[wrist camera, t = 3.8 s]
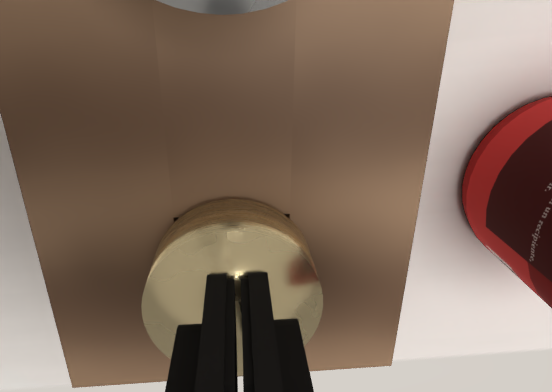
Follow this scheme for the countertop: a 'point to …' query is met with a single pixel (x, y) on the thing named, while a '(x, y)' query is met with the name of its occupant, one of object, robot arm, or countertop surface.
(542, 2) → the countertop surface
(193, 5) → the steel button
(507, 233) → the canned food
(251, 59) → the button block
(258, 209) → the brass button
